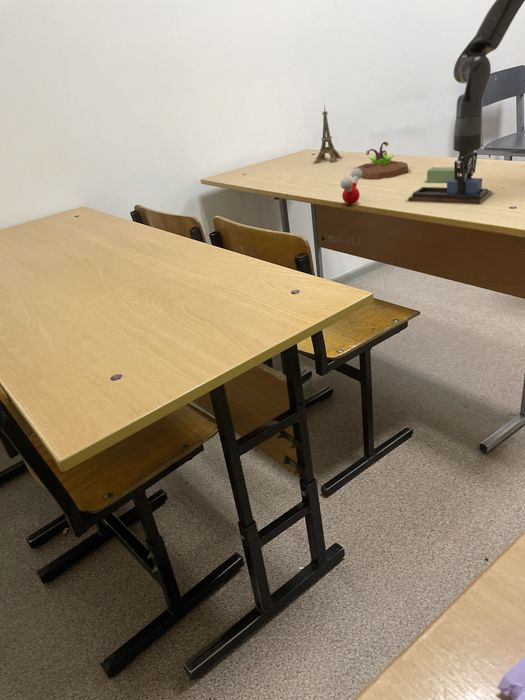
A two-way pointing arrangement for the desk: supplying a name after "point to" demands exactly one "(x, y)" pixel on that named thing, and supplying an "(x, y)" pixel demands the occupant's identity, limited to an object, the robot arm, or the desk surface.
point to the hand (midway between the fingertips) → (464, 191)
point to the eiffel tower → (330, 148)
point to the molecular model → (351, 187)
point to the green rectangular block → (440, 174)
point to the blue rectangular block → (471, 186)
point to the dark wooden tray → (447, 196)
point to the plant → (382, 166)
